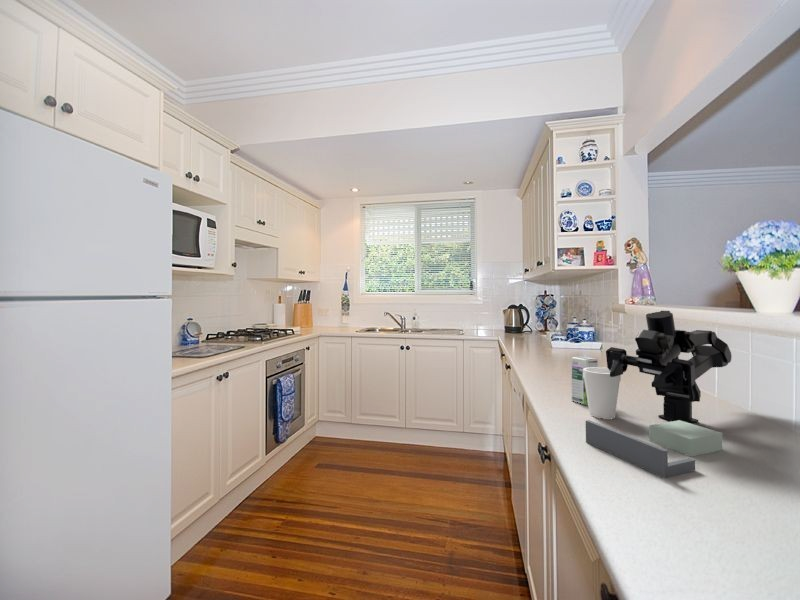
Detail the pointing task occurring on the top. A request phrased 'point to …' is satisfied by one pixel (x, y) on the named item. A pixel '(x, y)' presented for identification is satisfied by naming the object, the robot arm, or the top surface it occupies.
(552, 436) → the top surface
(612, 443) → the stand
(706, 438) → the carton
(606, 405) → the foam cup
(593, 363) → the syrup box
